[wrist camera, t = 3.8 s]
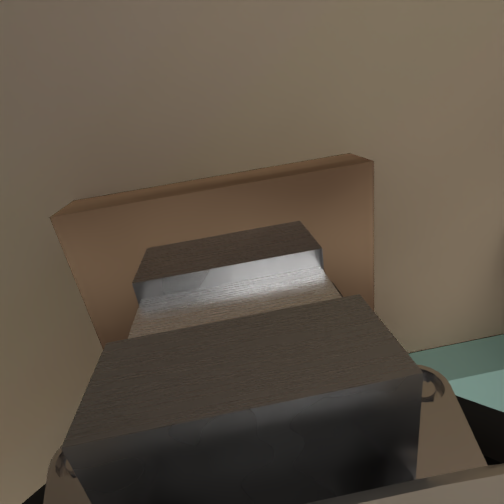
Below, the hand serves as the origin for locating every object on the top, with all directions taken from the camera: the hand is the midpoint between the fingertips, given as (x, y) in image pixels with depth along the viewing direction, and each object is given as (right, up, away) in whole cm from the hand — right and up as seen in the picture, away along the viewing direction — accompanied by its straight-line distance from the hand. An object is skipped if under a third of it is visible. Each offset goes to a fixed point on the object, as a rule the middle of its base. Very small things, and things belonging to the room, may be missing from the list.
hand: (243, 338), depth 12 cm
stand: (0, +1, +3) cm, 3 cm away
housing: (0, 0, +1) cm, 1 cm away
